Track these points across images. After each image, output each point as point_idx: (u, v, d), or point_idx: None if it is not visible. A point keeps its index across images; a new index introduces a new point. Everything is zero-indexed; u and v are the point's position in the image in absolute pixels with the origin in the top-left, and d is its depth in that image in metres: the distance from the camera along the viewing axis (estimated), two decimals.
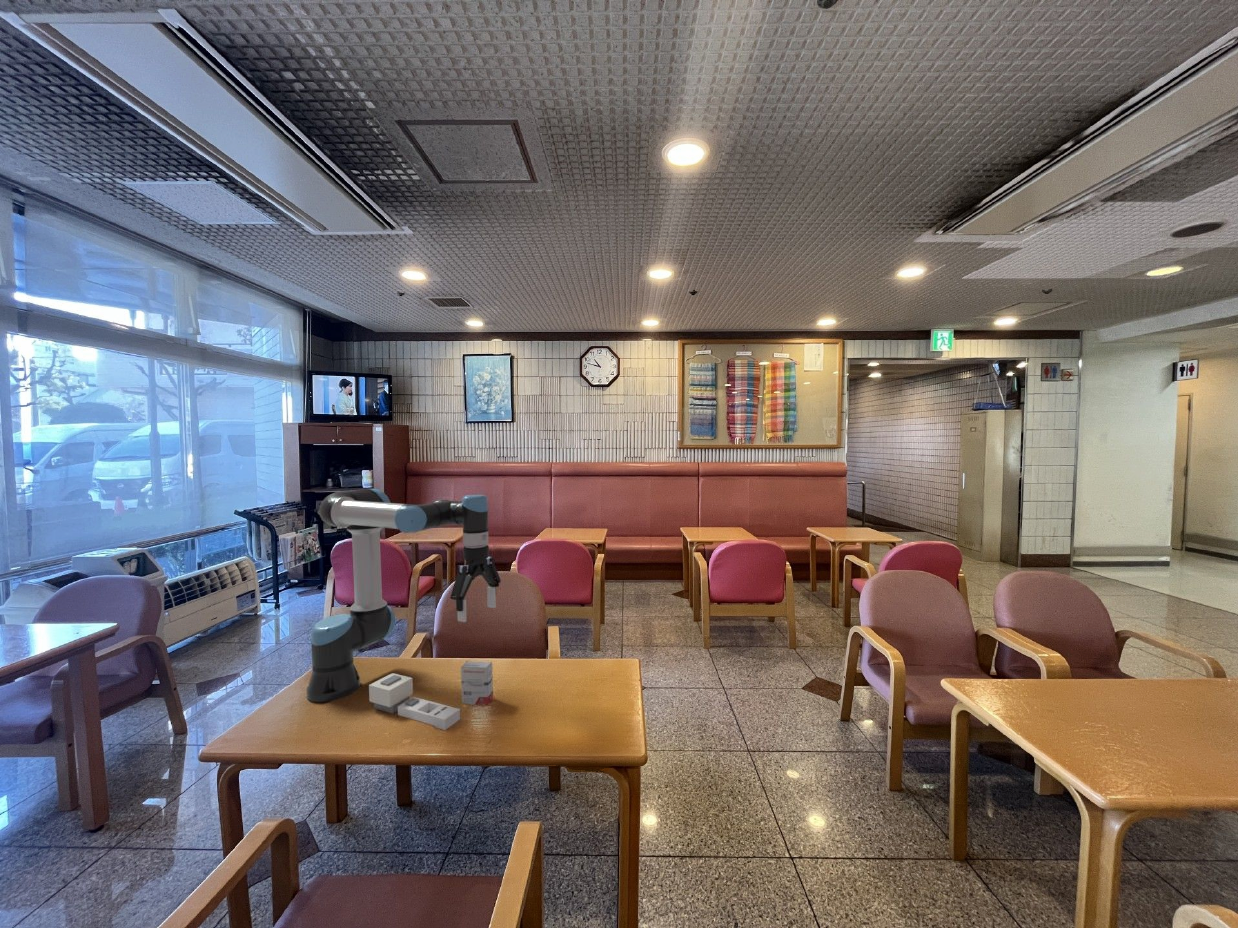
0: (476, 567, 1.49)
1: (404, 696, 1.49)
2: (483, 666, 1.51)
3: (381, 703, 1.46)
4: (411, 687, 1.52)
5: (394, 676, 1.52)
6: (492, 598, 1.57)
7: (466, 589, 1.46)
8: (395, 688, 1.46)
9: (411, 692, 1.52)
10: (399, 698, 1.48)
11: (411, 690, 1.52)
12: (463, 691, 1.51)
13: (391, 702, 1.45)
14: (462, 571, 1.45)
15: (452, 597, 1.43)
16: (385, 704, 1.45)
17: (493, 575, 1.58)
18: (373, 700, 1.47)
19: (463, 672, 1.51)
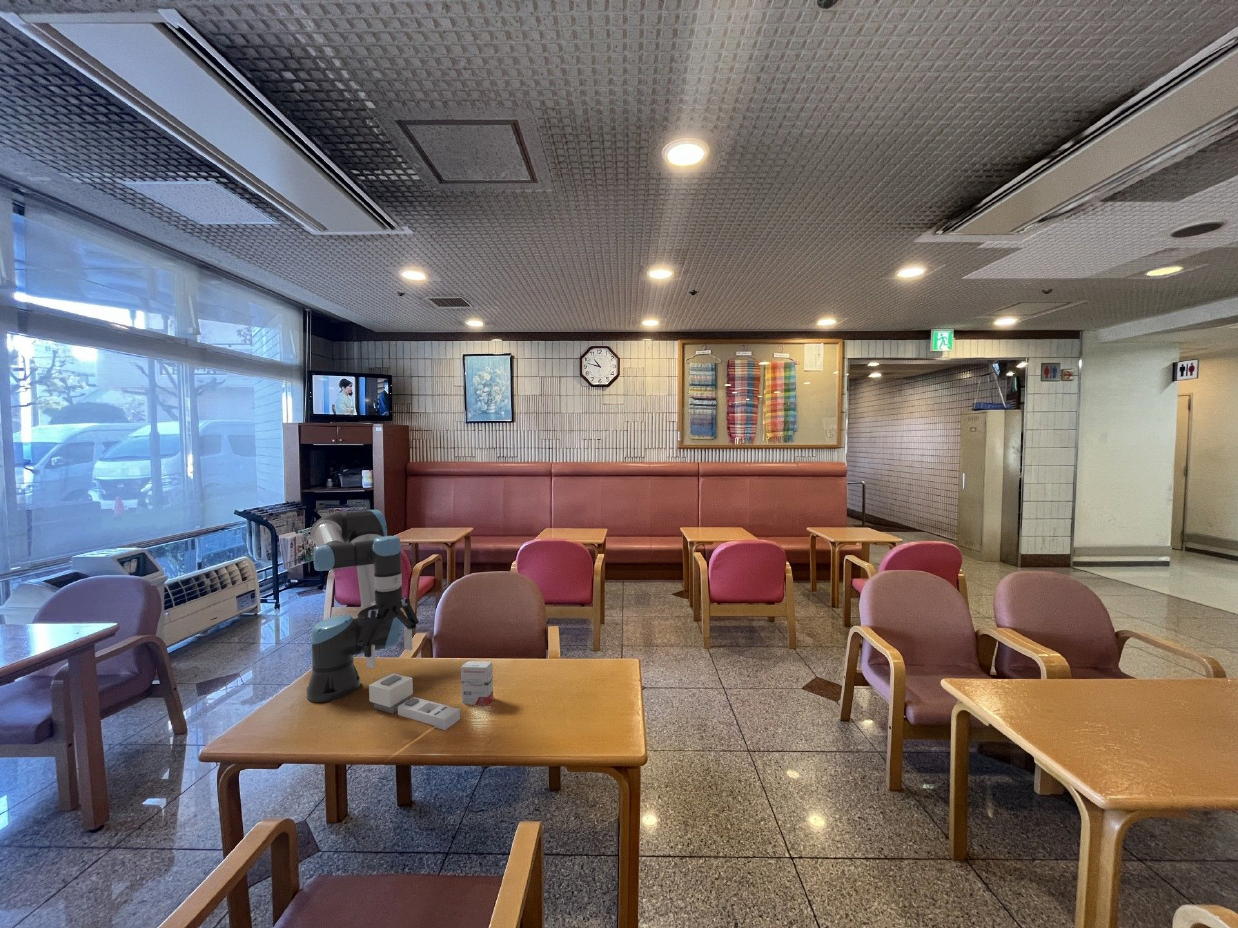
0: (387, 611, 1.47)
1: (404, 696, 1.49)
2: (483, 666, 1.51)
3: (381, 703, 1.46)
4: (411, 687, 1.52)
5: (394, 676, 1.52)
6: (408, 640, 1.55)
7: (375, 634, 1.43)
8: (395, 688, 1.46)
9: (411, 692, 1.52)
10: (399, 698, 1.48)
11: (411, 690, 1.52)
12: (463, 691, 1.51)
13: (391, 702, 1.45)
14: (370, 616, 1.43)
15: (359, 643, 1.40)
16: (385, 704, 1.45)
17: (410, 616, 1.56)
18: (373, 700, 1.47)
19: (463, 672, 1.51)
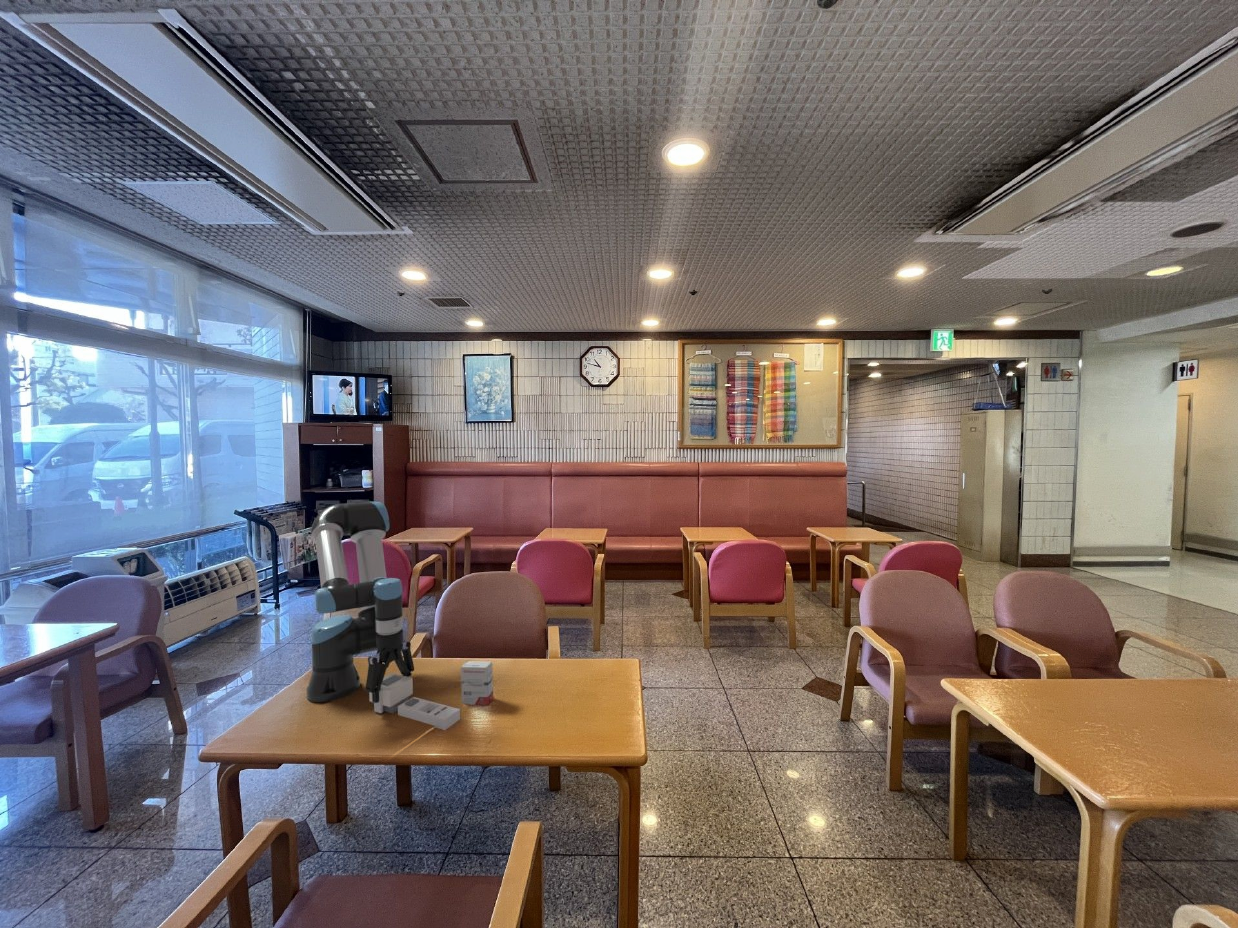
0: (388, 654, 1.47)
1: (404, 696, 1.49)
2: (483, 666, 1.51)
3: None
4: (411, 687, 1.52)
5: (394, 676, 1.52)
6: None
7: (381, 679, 1.45)
8: (395, 688, 1.46)
9: (411, 692, 1.52)
10: (399, 698, 1.48)
11: (411, 690, 1.52)
12: (463, 691, 1.51)
13: (391, 702, 1.45)
14: (372, 663, 1.44)
15: (367, 690, 1.43)
16: (385, 704, 1.45)
17: (408, 661, 1.55)
18: None
19: (463, 672, 1.51)
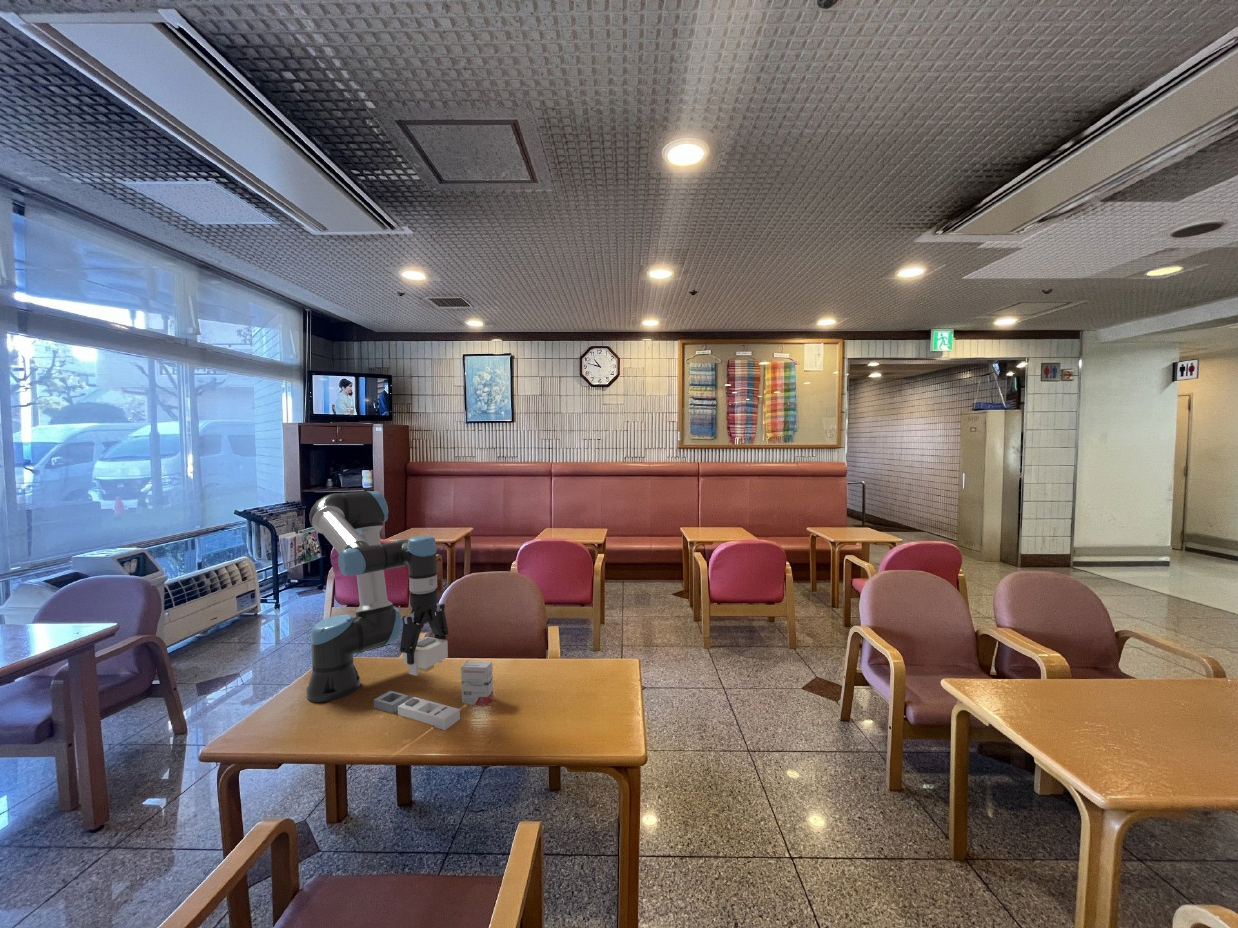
0: (423, 614, 1.41)
1: (439, 659, 1.43)
2: (484, 666, 1.51)
3: None
4: (446, 650, 1.45)
5: (428, 638, 1.45)
6: None
7: (416, 640, 1.39)
8: (430, 649, 1.40)
9: (446, 656, 1.45)
10: (434, 660, 1.41)
11: (446, 653, 1.45)
12: (463, 691, 1.51)
13: (426, 664, 1.38)
14: (407, 622, 1.37)
15: (402, 651, 1.36)
16: (420, 666, 1.38)
17: (442, 624, 1.49)
18: None
19: (463, 672, 1.51)
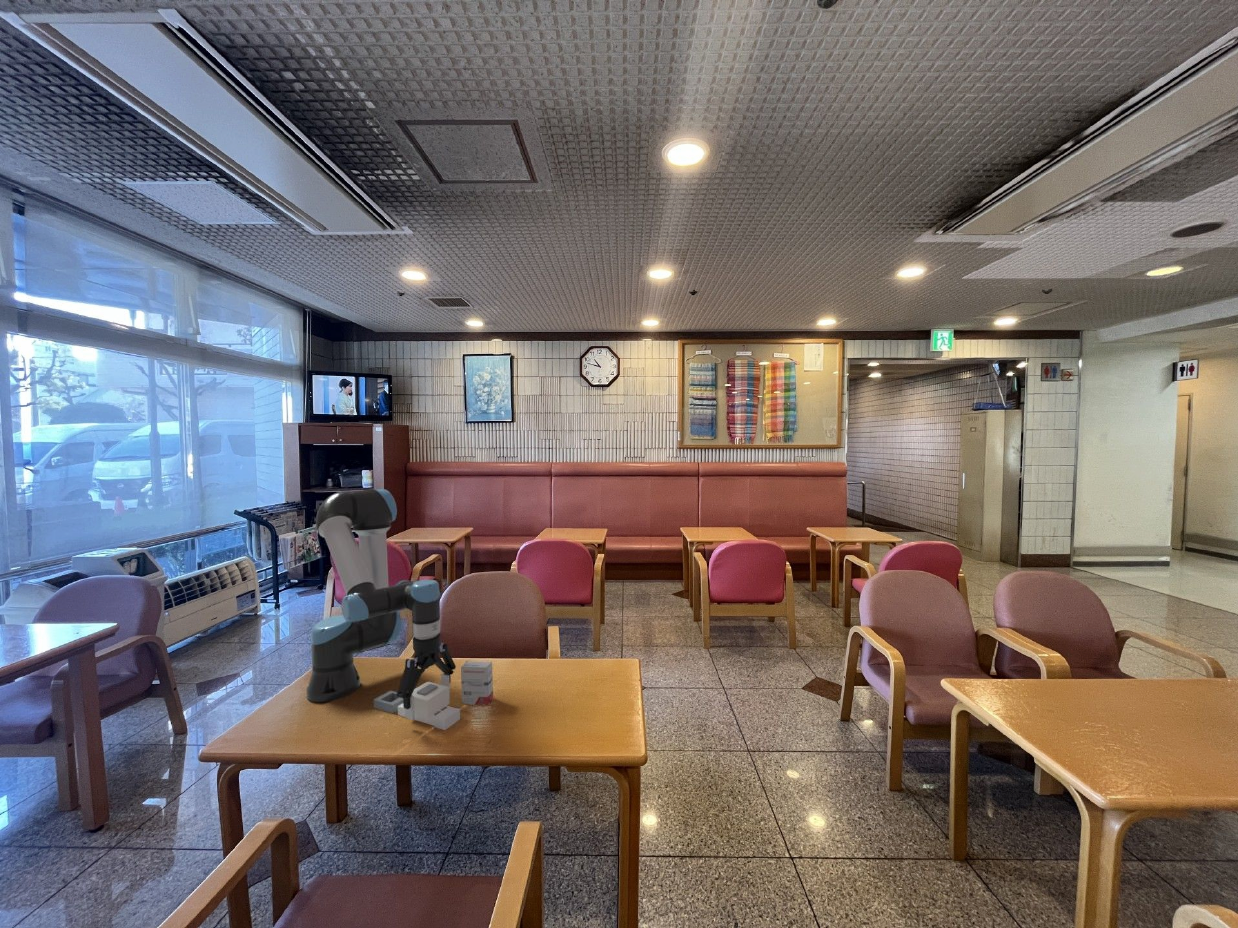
0: (426, 659, 1.41)
1: (441, 706, 1.43)
2: (483, 666, 1.51)
3: (418, 713, 1.40)
4: (448, 696, 1.46)
5: (430, 685, 1.46)
6: None
7: (414, 684, 1.38)
8: (433, 698, 1.40)
9: (447, 702, 1.46)
10: (436, 708, 1.42)
11: (448, 700, 1.46)
12: (463, 691, 1.51)
13: (429, 712, 1.39)
14: (409, 665, 1.37)
15: (398, 695, 1.35)
16: (422, 715, 1.39)
17: (447, 661, 1.50)
18: None
19: (463, 672, 1.51)
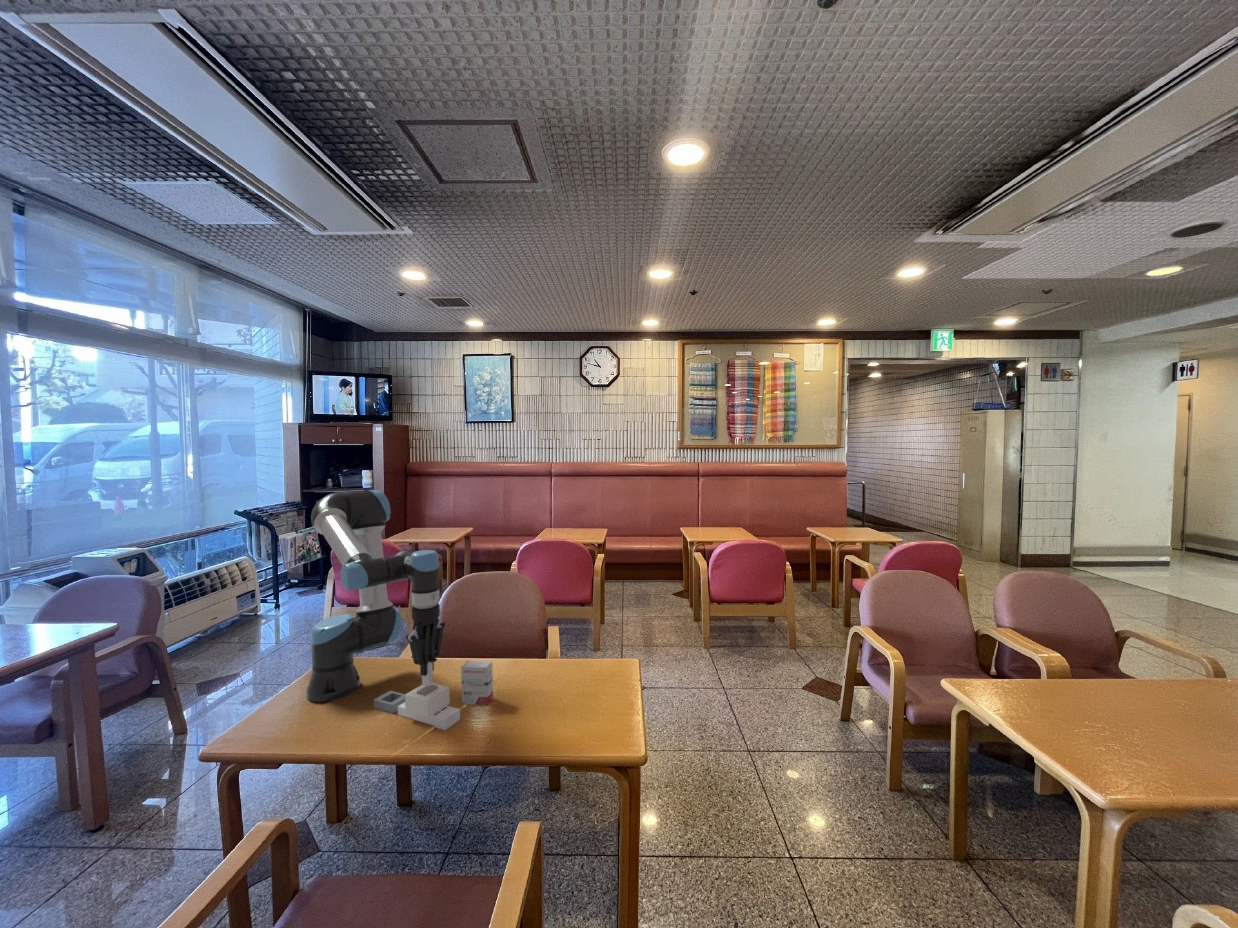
0: (425, 630, 1.41)
1: (441, 706, 1.43)
2: (484, 666, 1.51)
3: (418, 713, 1.40)
4: (448, 696, 1.46)
5: None
6: None
7: (426, 653, 1.42)
8: (433, 698, 1.40)
9: (447, 702, 1.46)
10: (436, 708, 1.42)
11: (448, 700, 1.46)
12: (463, 691, 1.51)
13: (429, 712, 1.39)
14: (412, 641, 1.38)
15: (416, 663, 1.41)
16: (422, 715, 1.39)
17: (436, 643, 1.46)
18: (409, 710, 1.41)
19: (463, 672, 1.51)
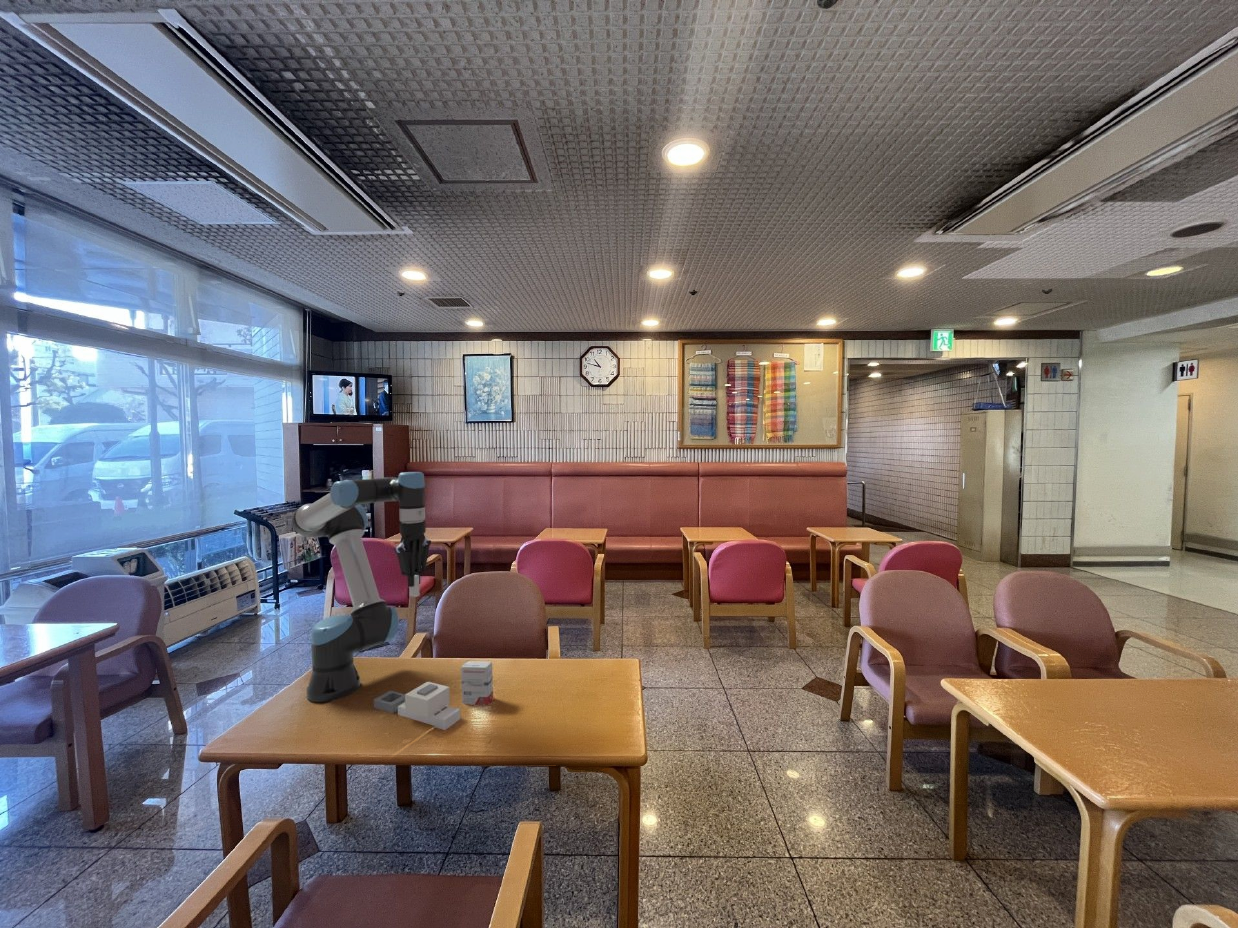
0: (412, 543, 1.53)
1: (441, 706, 1.43)
2: (483, 666, 1.51)
3: (418, 713, 1.40)
4: (448, 696, 1.46)
5: (430, 685, 1.46)
6: None
7: (413, 565, 1.53)
8: (433, 698, 1.40)
9: (447, 702, 1.46)
10: (436, 708, 1.42)
11: (448, 700, 1.46)
12: (463, 691, 1.51)
13: (429, 712, 1.39)
14: (399, 552, 1.50)
15: (403, 574, 1.52)
16: (422, 715, 1.39)
17: (422, 559, 1.58)
18: (409, 710, 1.41)
19: (463, 672, 1.51)
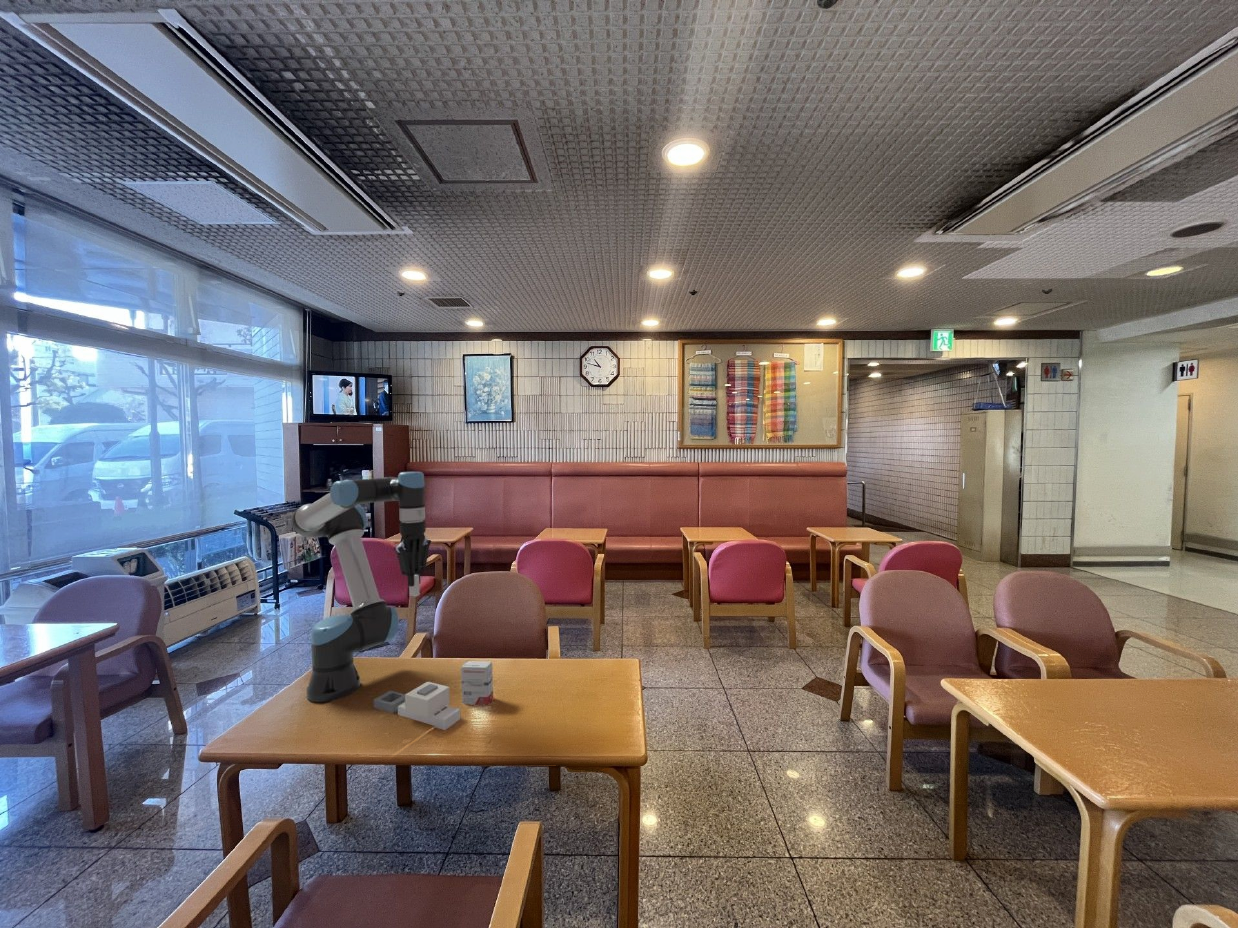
0: (412, 543, 1.53)
1: (441, 706, 1.43)
2: (483, 666, 1.51)
3: (418, 713, 1.40)
4: (448, 696, 1.46)
5: (430, 685, 1.46)
6: None
7: (413, 565, 1.54)
8: (433, 698, 1.40)
9: (447, 702, 1.46)
10: (436, 708, 1.42)
11: (448, 700, 1.46)
12: (463, 691, 1.51)
13: (429, 712, 1.39)
14: (399, 551, 1.50)
15: (403, 574, 1.52)
16: (422, 715, 1.39)
17: (422, 559, 1.58)
18: (409, 710, 1.41)
19: (463, 672, 1.51)
